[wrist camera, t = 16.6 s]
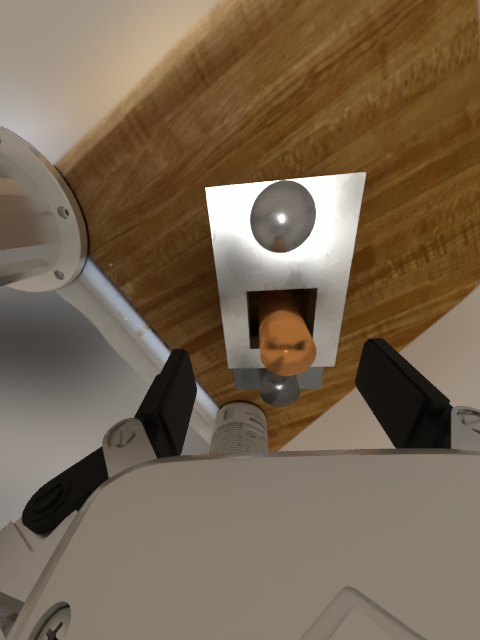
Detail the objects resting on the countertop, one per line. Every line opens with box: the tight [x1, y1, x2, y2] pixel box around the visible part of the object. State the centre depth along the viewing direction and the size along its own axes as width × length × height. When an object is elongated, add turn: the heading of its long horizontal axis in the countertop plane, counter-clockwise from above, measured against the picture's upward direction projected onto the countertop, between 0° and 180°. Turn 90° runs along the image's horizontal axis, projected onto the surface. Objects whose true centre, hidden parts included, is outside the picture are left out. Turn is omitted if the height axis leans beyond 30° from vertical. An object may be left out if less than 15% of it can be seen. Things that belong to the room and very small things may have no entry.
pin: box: [258, 289, 317, 376], centre depth 16 cm, size 3×3×8 cm
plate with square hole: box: [205, 172, 366, 368], centre depth 17 cm, size 14×9×4 cm, turn 4°
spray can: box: [209, 402, 268, 454], centre depth 18 cm, size 7×7×20 cm
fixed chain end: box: [233, 288, 324, 406], centre depth 19 cm, size 14×9×4 cm, turn 4°
